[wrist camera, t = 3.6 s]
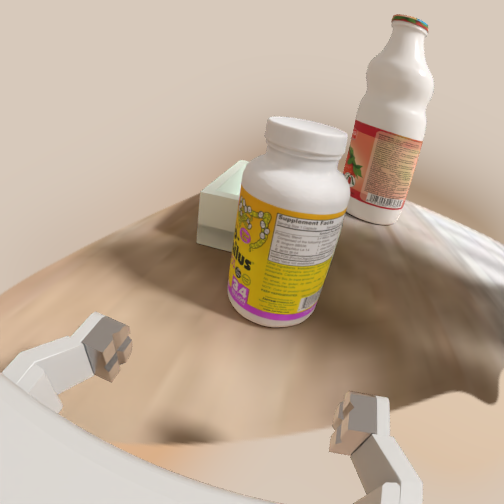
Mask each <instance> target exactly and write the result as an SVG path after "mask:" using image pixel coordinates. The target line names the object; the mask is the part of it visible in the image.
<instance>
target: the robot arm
mask: <svg viewBox="0 0 504 504" xmlns="http://www.w3.org/2000/svg"><path fill="white" fill-rule="evenodd" d="M129 334H130V328H129V326H128V325H125V324H123V323H121V322H118V321H116V320H114V319H112V318H109V317H107V316H105V315H103V314H100V313H98V312H94V313H92V314H91V315H90V316H89V317H88V318H87V319H86V320H85V321H84V322H83V324H82V325H81V326H80V327H79V328H78V329H77V330H76V331H75V332H74V333H73V335H72V336H71V337H69V336H66V337H63V338H60V339H57V340H54V341H51V342H49V343H46V344H43V345H40V346H37V347H34V348H31V349H28V350H26V351H23V352H20V353H19V354H18V355H17V356H16V357H15V358H14V360H13V361H12V362H11V363H10V364H9V365H8V366H7V367H6V368H5V370H4V371H3V372H2V373H1V372H0V504H282V503H277V502H272V501H268V500H263V499H259V498H255V497H251V496H247V495H243V494H239V493H236V492H232V491H228V490H224V489H221V488H218V487H215V486H212V485H208V484H206V483H203V482H200V481H197V480H194V479H191V478H188V477H185V476H182V475H180V474H177V473H175V472H172V471H169V470H167V469H164V468H162V467H160V466H157V465H155V464H152V463H150V462H148V461H145V460H143V459H141V458H139V457H136V456H134V455H132V454H130V453H128V452H126V451H124V450H122V449H120V448H118V447H116V446H114V445H112V444H110V443H108V442H106V441H104V440H102V439H100V438H98V437H97V436H95V435H93V434H91V433H89V432H88V431H86V430H84V429H82V428H81V427H79V426H77V425H75V424H74V423H72V422H70V421H69V420H67V419H66V418H64V417H62V416H61V415H59V414H58V413H59V412H60V410H61V409H62V408H63V404H62V402H61V400H60V399H59V397H58V394H59V393H61V392H63V391H65V390H67V389H69V388H71V387H73V386H75V385H77V384H79V383H81V382H83V381H84V380H86V379H88V378H90V377H92V376H94V375H96V376H99V377H101V378H103V379H105V380H107V381H110V382H113V380H114V379H115V377H116V376H117V374H118V373H119V372H120V365H121V364H123V363H126V362H127V360H128V359H129V357H130V354H131V352H132V340H131V339H130V337H129V336H128V335H129ZM332 427H333V428H334V430H335V432H334V433H333V434H332V436H331V439H330V447H329V452H333V453H338V454H344V455H350V456H351V457H350V458H351V460H352V462H353V464H354V467H355V469H356V471H357V474H358V476H359V478H360V480H361V483H362V485H363V487H364V489H365V492H366V494H367V495H366V496H364V497H363V498H361V499H359V500H358V501H356V502H355V503H353V504H423V482H422V481H421V479H420V477H419V476H418V474H417V473H416V471H415V469H414V468H413V466H412V465H411V463H410V462H409V460H408V458H407V457H406V455H405V454H404V452H403V451H402V449H401V447H400V446H399V444H398V443H397V441H396V440H395V438H394V437H392V436H390V407H389V399H388V398H387V397H381V396H374V395H371V394H365V393H359V392H353V391H348V392H347V393H346V394H345V396H344V401H343V402H341V403H339V405H338V407H337V409H336V411H335V414H334V418H333V424H332Z"/></svg>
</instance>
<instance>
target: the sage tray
mask: <svg viewBox="0 0 504 504" xmlns="http://www.w3.org/2000/svg"><path fill="white" fill-rule="evenodd" d="M248 163H249V162H248V161H244V160H239V161H238V162H237V163H235V164H234V165H233V166H232V167H230V168H229V169H228V170H227V171H225V172H224V173H223V174H222V175H220V176H219V177H218V178H217V179H215V180H214V181H213V182H212V183H210V184H209V185H208V186H207V187H206V188H204V189H203V190H202V191H201V192H200V201H199V213H198V227H197V242H196V243H198V244H202V245H206V246H210V247H214V248H217V249H221V250H225V251H229V252H232V247H233V239H234V232H235V224H236V217H237V210H238V203H239V196H240V188H241V181H242V175H243V171H244V169H245V167H246V165H247V164H248ZM342 226H343V223H342ZM342 226H341V230H342ZM341 230H340V233H341ZM340 233H339V236H340ZM339 236H338V240H339ZM338 240H337V243H338ZM337 243H336V246H337ZM336 246H335V249H336ZM335 249H334V253H335ZM334 253H333V256H334ZM333 256H332V259H333ZM332 259H331V262H332ZM331 262H330V265H331ZM330 265H329V268H330ZM329 268H328V271H329ZM328 271H327V274H328ZM326 277H327V275H326Z"/></svg>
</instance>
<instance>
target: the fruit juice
mask: <svg viewBox="0 0 504 504" xmlns="http://www.w3.org/2000/svg"><path fill="white" fill-rule="evenodd" d="M392 27H393V33H392V35H391V38H390V39H389V42H388V43H387V45H386V46H385V48H384V50H383V51H382V52H381V53H379V54H378V55H377V56H376V57H374V58H373V59H372V60H371V62H370V63H369V65H368V69H367V73H366V79H367V91H366V94H365V95H364V97H363V98H362V100H361V102H360V105H359V108H358V112H357V115H356V120H355V125H354V130H353V134H352V138H351V143H350V147H349V151H348V155H347V159H346V164H345V167H344V171H343V175H344V176H345V178H346V179H347V181H348V183H349V186H350V199H349V202H348V206H347V210H346V212H347V213H349V214H351V215H353V216H355V217H357V218H359V219H362V220H364V221H367V222H371V223H375V224H381V225H390V224H394V223H395V222H396V221H397V220H398V218H399V216H400V214H401V211H402V208H403V205H404V202H405V199H406V196H407V193H408V190H409V187H410V184H411V180H412V177H413V174H414V171H415V167H416V164H417V160H418V156H419V153H420V149H421V146H422V142H423V139H424V135H425V129H426V122H427V121H426V107H427V105H428V103H429V101H430V100H431V98H432V95H433V92H434V80H433V77H432V74H431V72H430V70H429V68H428V66H427V63H426V59H425V53H424V38H425V37H426V36H427V33H428V25H427V24H426V23H425V22H423V21H421V20H419V19H417V18H414V17H411V16H407V15H400V14H399V15H398V14H397V15H394V16H393V18H392Z"/></svg>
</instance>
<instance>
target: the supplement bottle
mask: <svg viewBox="0 0 504 504" xmlns="http://www.w3.org/2000/svg"><path fill="white" fill-rule="evenodd" d="M265 138H266V143H267V144H268V146H267V150H266V153H265V154H264V155H260V156H258V157H256V158H254V159H252V160H251V161H250V162H249V163H248V164H247V165H246V167H245V169H244V171H243V175H242V181H241V188H240V196H239V203H238V210H237V217H236V224H235V232H234V239H233V247H232V254H231V262H230V270H229V278H228V297H229V300H230V302H231V304H232V305H233V307H234V308H235V309H236V310H237V312H239V313H240V314H241V315H242V316H243V317H245V318H247V319H248V320H250V321H252V322H254V323H257V324H260V325H263V326H268V327H288V326H293V325H296V324H299V323H301V322H303V321H304V320H306V319H307V318H308V317H309V316H310V315H311V314H312V312H313V311H314V309H315V307H316V304H317V302H318V298H319V296H320V293H321V290H322V287H323V284H324V281H325V278H326V275H327V271H328V268H329V265H330V262H331V259H332V256H333V253H334V249H335V246H336V243H337V240H338V236H339V233H340V230H341V226H342V223H343V220H344V216H345V213H346V210H347V206H348V202H349V199H350V186H349V183H348V181H347V179H346V178H345V176H344V175H343V174H342V173H341V172H340V171H339V170H338V169H337V166H338V161H339V160H340V159H341V158H342V154H344V153H345V148H346V143H347V138H348V135H347V133H346V132H344V131H342V130H340V129H337V128H335V127H332V126H329V125H326V124H321V123H318V122H314V121H309V120H303V119H298V118H290V117H276V116H275V117H270V118H268V120H267V126H266V131H265Z"/></svg>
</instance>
